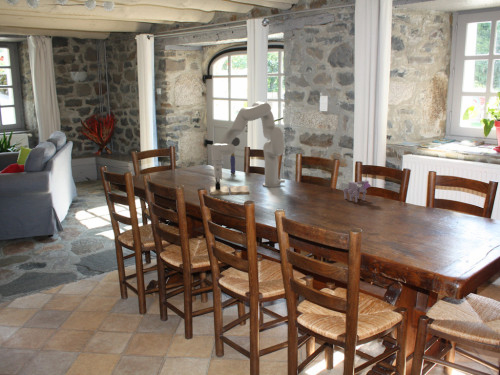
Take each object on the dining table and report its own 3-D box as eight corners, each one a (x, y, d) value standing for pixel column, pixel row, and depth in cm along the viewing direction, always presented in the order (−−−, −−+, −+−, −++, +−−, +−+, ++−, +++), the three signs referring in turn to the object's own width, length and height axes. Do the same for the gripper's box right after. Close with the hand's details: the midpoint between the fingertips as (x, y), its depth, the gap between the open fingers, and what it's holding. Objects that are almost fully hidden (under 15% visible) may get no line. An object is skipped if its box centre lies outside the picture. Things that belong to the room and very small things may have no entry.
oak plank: (227, 188, 343) (227, 186, 343) (229, 194, 325) (229, 192, 325) (209, 188, 342) (209, 186, 341) (210, 194, 324) (210, 192, 324)
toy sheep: (377, 202, 299) (377, 180, 295) (364, 206, 293) (364, 183, 290) (353, 196, 315) (353, 175, 312) (341, 199, 310) (340, 178, 307)
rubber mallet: (241, 174, 392) (240, 136, 386) (233, 175, 388) (232, 137, 381) (232, 172, 402) (231, 135, 396) (224, 173, 398) (223, 136, 391)
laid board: (246, 187, 344) (246, 185, 344) (249, 193, 327) (249, 191, 326) (228, 188, 343) (228, 186, 343) (230, 194, 325) (230, 192, 325)
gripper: (223, 164, 322) (224, 191, 326) (222, 160, 337) (222, 186, 341) (212, 164, 321) (212, 191, 325) (211, 160, 336) (212, 187, 340)
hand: (217, 189), depth 333 cm, fingers closed
